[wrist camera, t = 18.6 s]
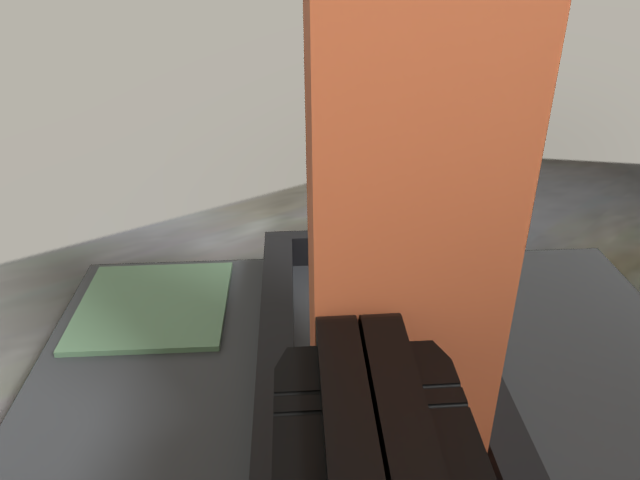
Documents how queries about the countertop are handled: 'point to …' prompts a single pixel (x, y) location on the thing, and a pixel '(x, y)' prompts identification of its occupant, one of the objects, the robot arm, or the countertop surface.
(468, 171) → the handle
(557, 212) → the countertop surface
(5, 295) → the countertop surface
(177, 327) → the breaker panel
